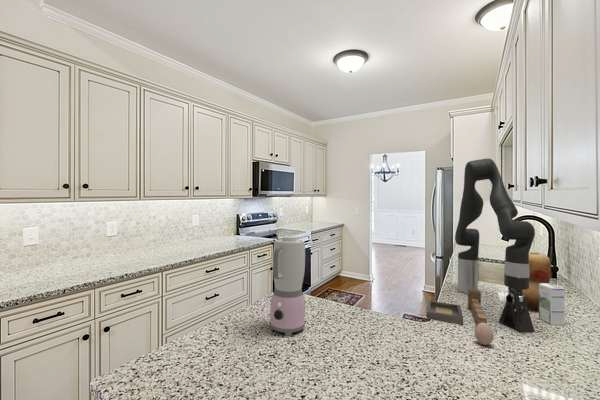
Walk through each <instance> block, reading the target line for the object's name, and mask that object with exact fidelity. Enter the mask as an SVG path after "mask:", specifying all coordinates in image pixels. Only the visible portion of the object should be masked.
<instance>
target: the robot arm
mask: <svg viewBox="0 0 600 400" xmlns="http://www.w3.org/2000/svg"><path fill="white" fill-rule="evenodd" d="M463 179H464V180H463V191H462V198H461V202H460V203H461V204H460V209H459V217H458V222H457V226H456V230H455V236H454V240H455V243H456V245H458V246H460V247H461V246H462V247H470V248H468V249H467V250H464V251H460V252H458V254H457V291H458V292H459V293H462V292H463V293H464V294H467V293H468V289H471V290H479V253H480V252H479V251H480V249H479V247H480V231H479V230H478V229H477V228H467V227H468V226H470V225H471V224H472V223H473V222H475V221H476V220H478V219H479V218H480V217H481V215H482V213H483V207H484V203H485V202H484V199H483V197H482V196H481V194H480V193H479V192H478V191H477V189H476V183H477V182H478V181H486V180H489V181H490V183H491V190H490V194H489V204H490V206H491V208H492V209H493V212H494V213H495V214H494V215H496V218H497V223H498V229H499V232H500V234H501V236H502V237H504V238H505V239H506V240H511V241H514V240H515V241H514V244H511V245H507V246H506V248H505V253H504V254H505V255H504V258H505V259H504V271H503V274H504V275H503V277H504V278H503V280H504V281H503V283H504V286H505V287H508V288H507V289H508V293H507V295H511V296H512V297H513V298H514V299H515V302H516V303H515V302H514V299H513V300H512V304H513V305H514V311H515V322H516V317H517V321H518V322H521V323H523V313H525V299H526V298H525V296H524V294H523V293H522V290H524V289H525V290H526V289H529V274H530V270H529V252H531V251H530V250H531V248H532V245H533V242H534V239H535V237H536V236H535V235H536V231H535V227H534V225H533V224H532V223H530V221H526V220H514V218H516V217H517V216H518V213H519V211H518V209H517V207H516V205H515V204H514V202H513V201H512V199H511V197H510V195H509V193H508V192H507V190H506V187H505V185H504V181H503V179H502V176H501V174H500V171H499V169H498V167H497V164H496V162H495V161H494V160H493V159H492V158H481V159H475V160H469V161H468V162H466V164H465V167H464V177H463ZM463 293H462V294H463ZM512 297H511V298H512ZM518 306H520V307H521V309H518Z"/></svg>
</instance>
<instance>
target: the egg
mask: <svg viewBox="0 0 600 400" xmlns="http://www.w3.org/2000/svg"><path fill="white" fill-rule="evenodd" d="M474 328H475V329H474V337H475V339H476V341H477V342H479V344H481V345H482V346H483V345H484V346H488V345H491V344H492V342H493V341H494V332H493V329H492V328H491V326H490V325H489V324H488V323H487V324H486V323H479V324H478V325H476V326H475V327H474Z"/></svg>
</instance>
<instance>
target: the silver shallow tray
mask: <svg viewBox="0 0 600 400" xmlns="http://www.w3.org/2000/svg"><path fill="white" fill-rule="evenodd" d="M426 305H427V307H426V319H427V320H434V321H439V322H444V323H445V322H446V323H450V324H455V325H463V326H464V316H463V312H462V308H461V305H460V304H455V303H448V302H442V301H435V300H429V299H428V300H427V304H426Z"/></svg>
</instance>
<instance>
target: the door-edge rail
mask: <svg viewBox="0 0 600 400" xmlns="http://www.w3.org/2000/svg"><path fill="white" fill-rule="evenodd" d="M481 303H482V292H481V290H479V289H478V290H471V289H468V294H467V308H468V311H471V314H472V317H473V319H474V322H475V325H476V326H477V325H478V324H479V323H486V324H487V325H488V317H487V316H486V314H485V312H484V309H483V307H482V305H481Z"/></svg>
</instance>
